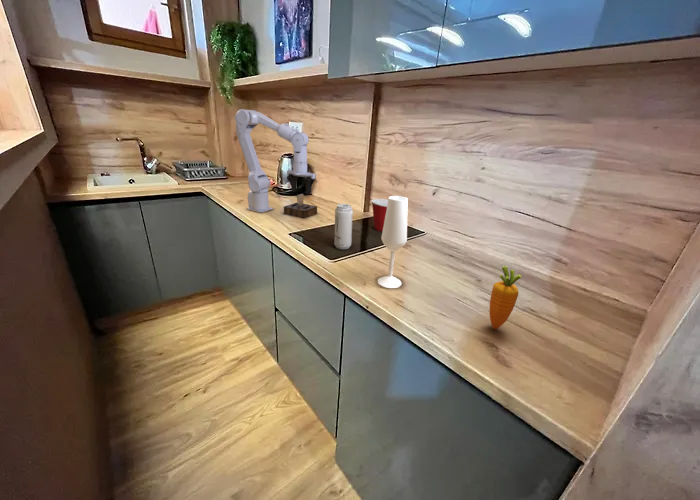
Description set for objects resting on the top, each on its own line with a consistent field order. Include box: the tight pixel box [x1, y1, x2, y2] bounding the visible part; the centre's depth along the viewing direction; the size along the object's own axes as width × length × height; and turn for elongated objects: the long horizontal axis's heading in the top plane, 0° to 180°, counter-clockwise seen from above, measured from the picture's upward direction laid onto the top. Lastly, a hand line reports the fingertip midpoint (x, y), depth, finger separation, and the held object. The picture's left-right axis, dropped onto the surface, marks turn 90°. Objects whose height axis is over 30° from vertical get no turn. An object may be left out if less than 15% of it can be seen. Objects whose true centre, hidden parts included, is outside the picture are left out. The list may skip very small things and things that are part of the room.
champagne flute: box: [377, 195, 409, 289], centre depth 81 cm, size 7×7×24 cm
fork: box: [296, 193, 305, 208], centre depth 141 cm, size 1×4×9 cm, turn 151°
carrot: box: [489, 265, 522, 330], centre depth 65 cm, size 5×5×15 cm
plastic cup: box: [370, 198, 388, 232], centre depth 125 cm, size 11×11×12 cm
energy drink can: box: [333, 203, 354, 250], centre depth 105 cm, size 6×6×15 cm
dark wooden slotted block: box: [283, 201, 318, 219], centre depth 143 cm, size 12×10×4 cm
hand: (301, 192), depth 138 cm, fingers open, 7 cm apart
